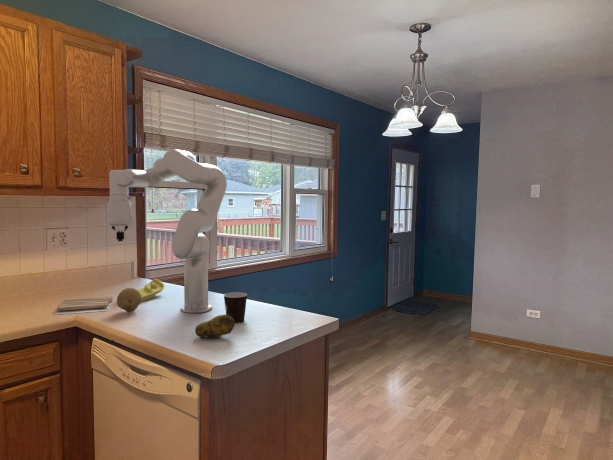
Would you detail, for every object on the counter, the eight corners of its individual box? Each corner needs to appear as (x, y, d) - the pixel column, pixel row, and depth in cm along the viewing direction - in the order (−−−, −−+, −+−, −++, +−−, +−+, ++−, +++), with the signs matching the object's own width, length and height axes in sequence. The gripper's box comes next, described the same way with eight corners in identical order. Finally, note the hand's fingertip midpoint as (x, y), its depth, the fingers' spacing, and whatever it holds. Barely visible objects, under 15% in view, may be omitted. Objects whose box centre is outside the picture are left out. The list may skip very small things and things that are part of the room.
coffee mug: (226, 317, 166) (226, 292, 165) (248, 318, 166) (248, 292, 165) (219, 326, 155) (219, 299, 154) (243, 327, 154) (243, 299, 154)
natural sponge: (131, 316, 167) (131, 291, 166) (111, 314, 169) (111, 289, 168) (145, 310, 176) (145, 286, 175) (126, 309, 178) (126, 285, 177)
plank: (106, 307, 178) (106, 304, 178) (57, 310, 172) (57, 307, 172) (109, 303, 185) (109, 301, 185) (61, 306, 179) (61, 304, 179)
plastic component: (137, 299, 186) (121, 287, 189) (133, 313, 188) (116, 301, 191) (168, 287, 204) (153, 276, 207) (164, 299, 206) (149, 289, 209)
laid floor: (107, 311, 174) (107, 307, 174) (54, 314, 168) (53, 311, 168) (112, 299, 194) (112, 296, 194) (65, 302, 188) (64, 299, 188)
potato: (209, 331, 149) (208, 308, 148) (238, 337, 143) (238, 314, 142) (192, 338, 142) (191, 314, 141) (222, 345, 136) (222, 320, 135)
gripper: (138, 198, 192) (139, 239, 193) (101, 198, 187) (102, 240, 188) (137, 199, 185) (138, 241, 186) (99, 198, 180) (100, 242, 181)
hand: (120, 241), depth 187 cm, fingers closed
